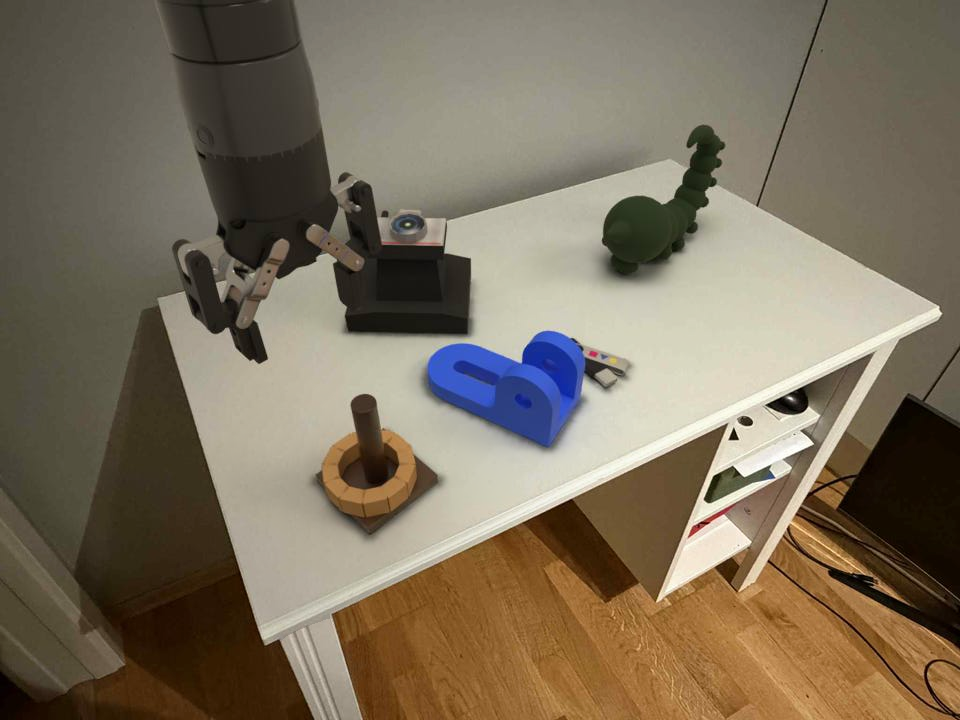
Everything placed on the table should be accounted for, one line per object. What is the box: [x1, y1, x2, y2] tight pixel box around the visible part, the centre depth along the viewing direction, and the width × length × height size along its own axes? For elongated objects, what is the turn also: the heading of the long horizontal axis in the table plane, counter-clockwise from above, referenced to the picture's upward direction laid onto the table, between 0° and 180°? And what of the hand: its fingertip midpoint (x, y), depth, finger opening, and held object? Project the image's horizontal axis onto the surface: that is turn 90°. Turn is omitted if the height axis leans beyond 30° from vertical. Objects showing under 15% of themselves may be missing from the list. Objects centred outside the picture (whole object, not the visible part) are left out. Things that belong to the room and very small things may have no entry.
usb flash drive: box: [569, 337, 630, 388], centre depth 80 cm, size 9×5×1 cm, turn 33°
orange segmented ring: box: [321, 429, 417, 518], centre depth 65 cm, size 9×9×2 cm
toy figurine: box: [601, 124, 726, 275], centre depth 92 cm, size 9×19×25 cm
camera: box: [344, 209, 472, 335], centre depth 84 cm, size 16×14×15 cm
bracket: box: [427, 330, 586, 448], centre depth 73 cm, size 18×8×9 cm, turn 59°
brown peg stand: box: [315, 393, 439, 535], centre depth 63 cm, size 9×9×12 cm
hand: (306, 330), depth 49 cm, fingers open, 8 cm apart
